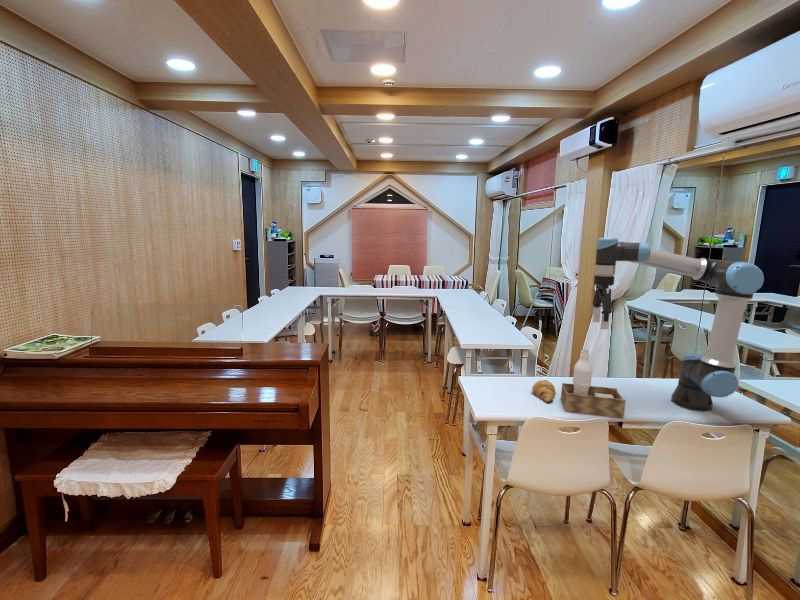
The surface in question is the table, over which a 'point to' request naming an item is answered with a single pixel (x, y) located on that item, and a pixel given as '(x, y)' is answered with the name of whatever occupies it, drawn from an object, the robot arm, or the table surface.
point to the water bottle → (582, 374)
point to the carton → (603, 395)
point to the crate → (593, 401)
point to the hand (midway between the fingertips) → (600, 325)
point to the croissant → (544, 390)
